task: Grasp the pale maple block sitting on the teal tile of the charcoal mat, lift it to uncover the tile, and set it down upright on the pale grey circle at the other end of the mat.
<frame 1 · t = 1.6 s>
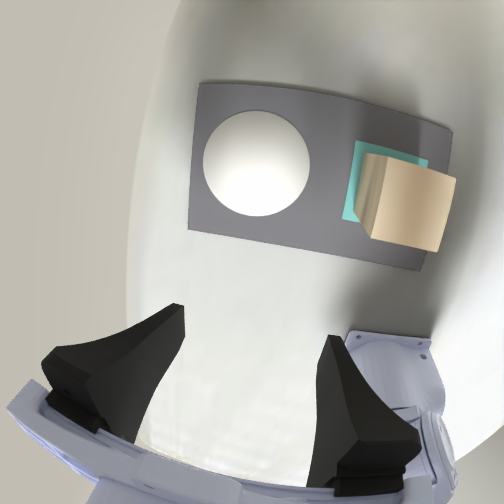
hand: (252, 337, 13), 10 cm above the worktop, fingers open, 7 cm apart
maple block: (387, 188, 18), resting on code mat
code mat: (322, 173, 19), on the worktop
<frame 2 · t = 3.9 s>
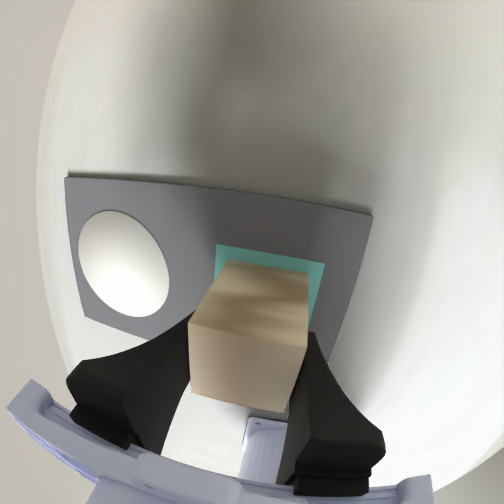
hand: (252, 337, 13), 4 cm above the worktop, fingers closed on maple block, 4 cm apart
maple block: (262, 300, 16), resting on code mat, touching gripper
code mat: (186, 280, 17), on the worktop
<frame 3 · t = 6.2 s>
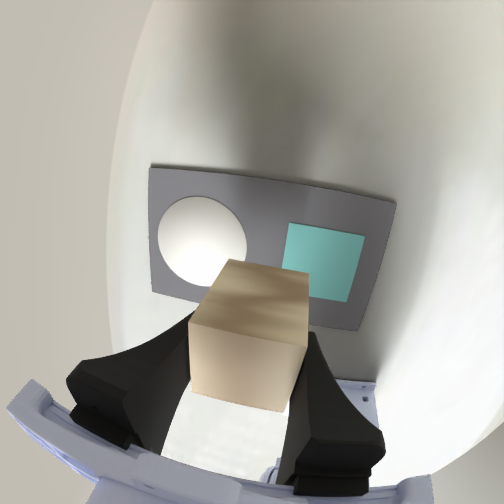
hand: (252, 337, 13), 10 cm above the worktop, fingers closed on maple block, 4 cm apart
maple block: (263, 299, 16), point 7 cm above the worktop, touching gripper
code mat: (259, 252, 23), on the worktop
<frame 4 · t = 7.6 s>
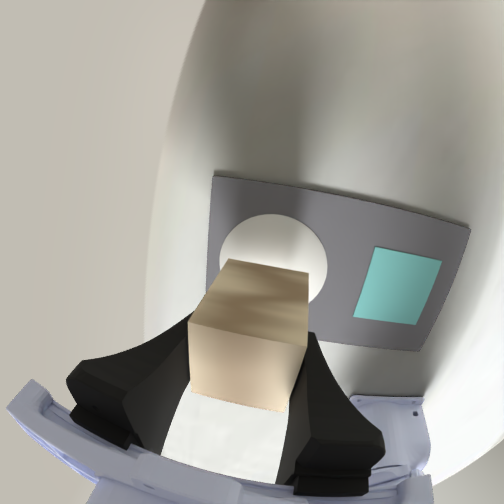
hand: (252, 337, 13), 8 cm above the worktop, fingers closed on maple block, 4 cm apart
maple block: (262, 299, 16), point 5 cm above the worktop, touching gripper
code mat: (338, 276, 20), on the worktop
when the fingers open (5 cm above the worktop, at t = 8.8 s): maple block stays where it is, resting on code mat.
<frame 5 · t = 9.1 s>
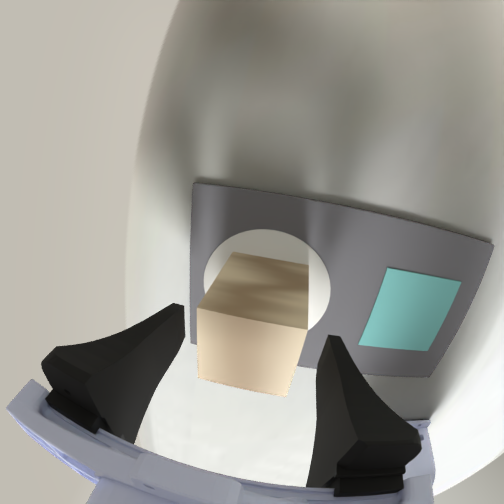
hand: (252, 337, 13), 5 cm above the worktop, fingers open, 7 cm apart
maple block: (265, 291, 17), resting on code mat
code mat: (343, 301, 17), on the worktop
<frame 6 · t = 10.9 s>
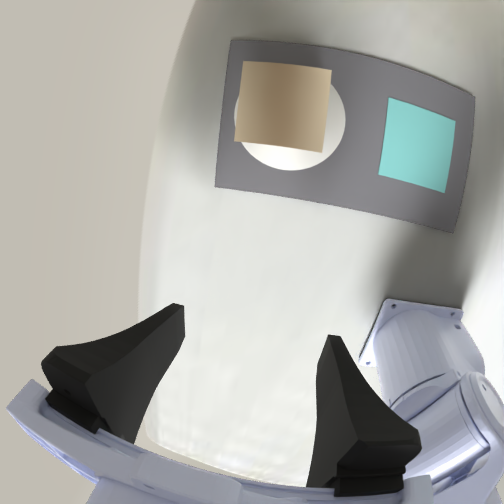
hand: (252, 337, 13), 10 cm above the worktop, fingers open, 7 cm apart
maple block: (289, 115, 18), resting on code mat
code mat: (357, 129, 17), on the worktop
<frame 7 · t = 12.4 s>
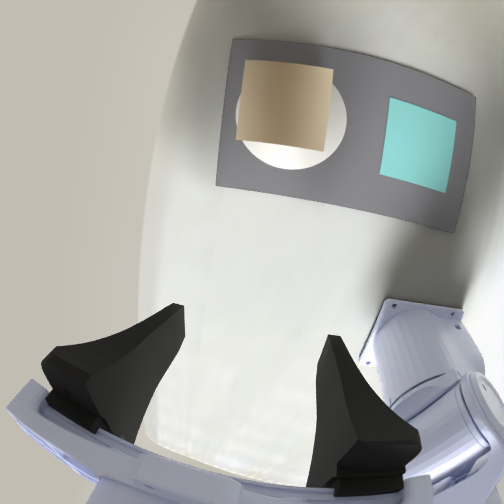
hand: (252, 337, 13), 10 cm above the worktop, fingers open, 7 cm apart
maple block: (290, 114, 18), resting on code mat
code mat: (358, 128, 17), on the worktop
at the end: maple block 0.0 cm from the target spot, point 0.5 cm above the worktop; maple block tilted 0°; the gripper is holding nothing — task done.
